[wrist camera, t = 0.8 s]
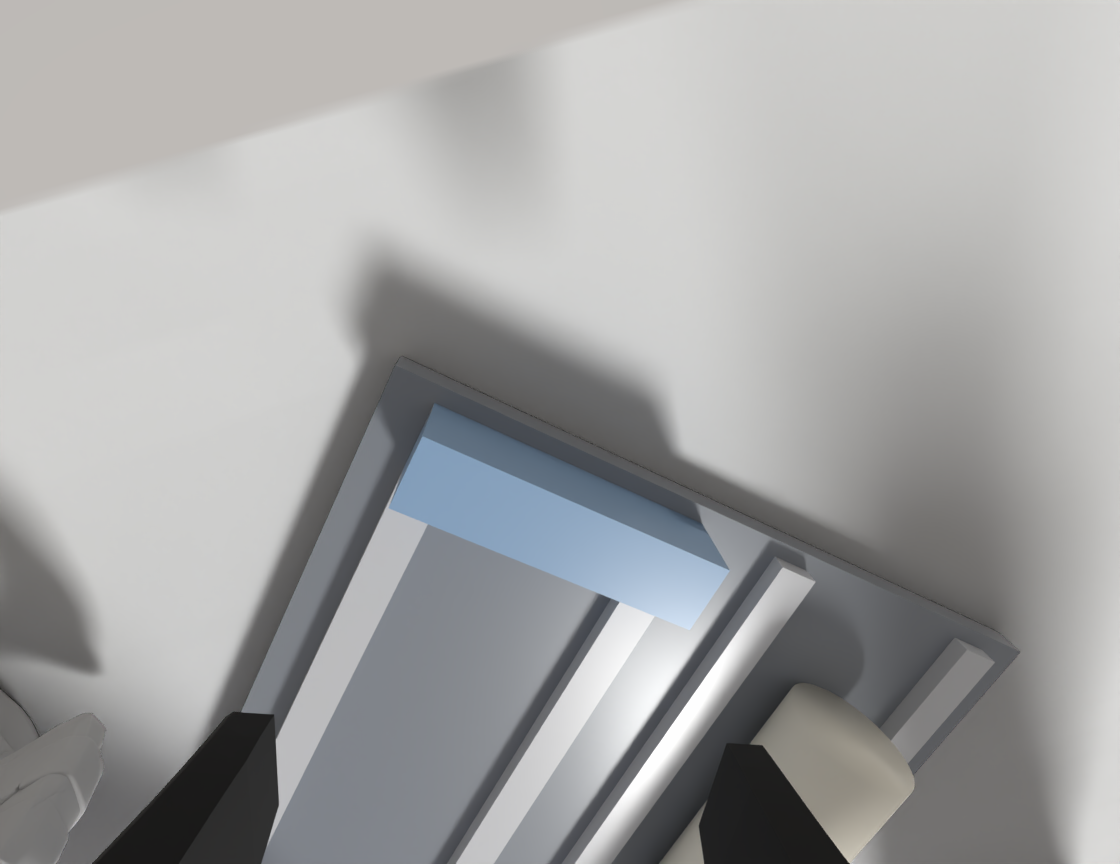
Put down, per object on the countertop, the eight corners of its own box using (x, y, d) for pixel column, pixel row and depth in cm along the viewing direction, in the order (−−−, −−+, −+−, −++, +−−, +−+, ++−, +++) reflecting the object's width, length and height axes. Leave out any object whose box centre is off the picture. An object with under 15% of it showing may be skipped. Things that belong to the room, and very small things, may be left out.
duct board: (699, 985, 28) (725, 1091, 24) (181, 849, 23) (126, 959, 20) (999, 632, 22) (1084, 708, 19) (401, 356, 17) (376, 392, 14)
